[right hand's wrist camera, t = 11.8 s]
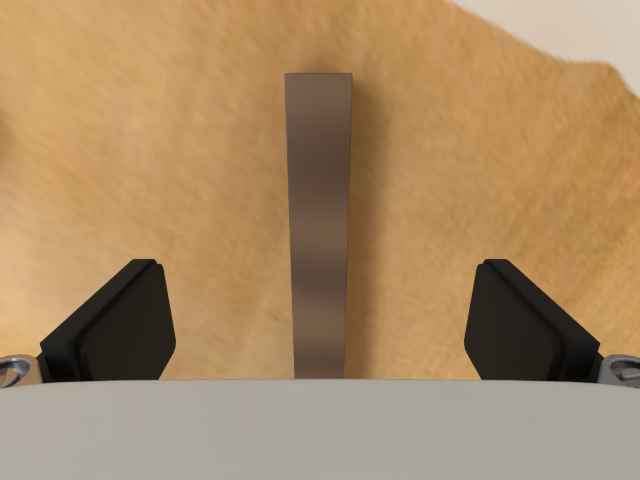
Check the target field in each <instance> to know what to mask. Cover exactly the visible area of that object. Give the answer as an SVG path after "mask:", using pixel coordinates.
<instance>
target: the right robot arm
mask: <svg viewBox="0 0 640 480" xmlns="http://www.w3.org/2000/svg"><path fill="white" fill-rule="evenodd" d="M40 346H41V349H42V353H41V354H39V355H38V356H37V357H36V358H35V357H33V356H30V355H20V354H19V355H11V356H6V357H2V358H0V480H640V358H638V357H634V356H629V355H621V354H620V355H610V356H607V357H605V358H604V357H603V356H602V355H601V354H599V353H598V349H599V346H600V342H598V341H597V340H596V339H595V338H594V337H593V336H592V335H591V334H590V333H588V332H587V331H586V330H585V329H584V328H583V327H582V326H581V325H580V324H578V323H577V322H576V321H575V320H574V319H573V318H572V317H571V316H570V315H568V314H567V313H566V312H565V311H564V310H563V309H562V308H561V307H560V306H558V305H557V304H556V303H555V302H554V301H553V300H552V299H551V298H550V297H548V296H547V295H546V294H545V293H544V292H543V291H542V290H541V289H540V288H538V287H537V286H536V285H535V284H534V283H533V282H532V281H531V280H530V279H528V278H527V277H526V276H525V275H524V274H523V273H522V272H521V271H520V270H518V269H517V268H516V267H515V266H514V265H513V264H512V263H511V262H510V261H508V260H507V259H486V260H485V261H484V262H483V264H479V265H478V266H477V269H476V275H475V280H474V286H473V292H472V298H471V303H470V309H469V315H468V321H467V326H466V332H465V338H464V346H465V350H466V353H467V354H468V356H469V358H470V360H471V362H472V363H473V365H474V367H475V369H476V370H477V372H478V374H479V376H480V378H481V379H482V380H418V379H214V380H158V379H159V378H160V376H161V374H162V372H163V370H164V369H165V367H166V365H167V363H168V362H169V360H170V358H171V356H172V354H173V353H174V350H175V346H176V338H175V332H174V326H173V321H172V315H171V309H170V303H169V298H168V292H167V286H166V280H165V275H164V269H163V266H162V265H161V264H157V262H156V261H155V260H154V259H133V260H132V261H130V262H129V263H128V264H127V265H126V266H125V267H124V268H123V269H122V270H120V271H119V272H118V273H117V274H116V275H115V276H114V277H113V278H112V279H110V280H109V281H108V282H107V283H106V284H105V285H104V286H103V287H102V288H100V289H99V290H98V291H97V292H96V293H95V294H94V295H93V296H92V297H90V298H89V299H88V300H87V301H86V302H85V303H84V304H83V305H82V306H80V307H79V308H78V309H77V310H76V311H75V312H74V313H73V314H72V315H70V316H69V317H68V318H67V319H66V320H65V321H64V322H63V323H62V324H60V325H59V326H58V327H57V328H56V329H55V330H54V331H53V332H52V333H50V334H49V335H48V336H47V337H46V338H45V339H44V340H43V341H42V342H40Z"/></svg>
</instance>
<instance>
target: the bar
mask: <svg viewBox="0 0 640 480" xmlns="http://www.w3.org/2000/svg"><path fill="white" fill-rule="evenodd" d="M285 103H286V133H287V163H288V193H289V223H290V253H291V283H292V313H293V343H294V373H295V379H344V347H345V312H346V278H347V243H348V209H349V174H350V139H351V105H352V73H285Z"/></svg>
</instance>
